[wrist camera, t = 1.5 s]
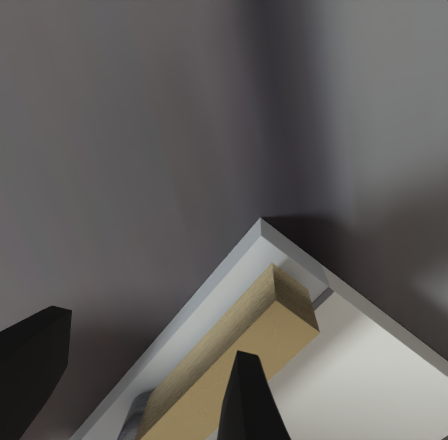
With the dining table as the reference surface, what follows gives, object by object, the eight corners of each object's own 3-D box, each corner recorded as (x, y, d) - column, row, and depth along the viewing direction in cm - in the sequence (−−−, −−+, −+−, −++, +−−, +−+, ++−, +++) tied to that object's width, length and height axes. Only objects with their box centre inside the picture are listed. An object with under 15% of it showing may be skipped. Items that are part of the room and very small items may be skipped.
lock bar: (163, 441, 19) (145, 505, 16) (120, 414, 19) (93, 474, 16) (314, 292, 15) (328, 339, 12) (264, 255, 15) (267, 293, 12)
